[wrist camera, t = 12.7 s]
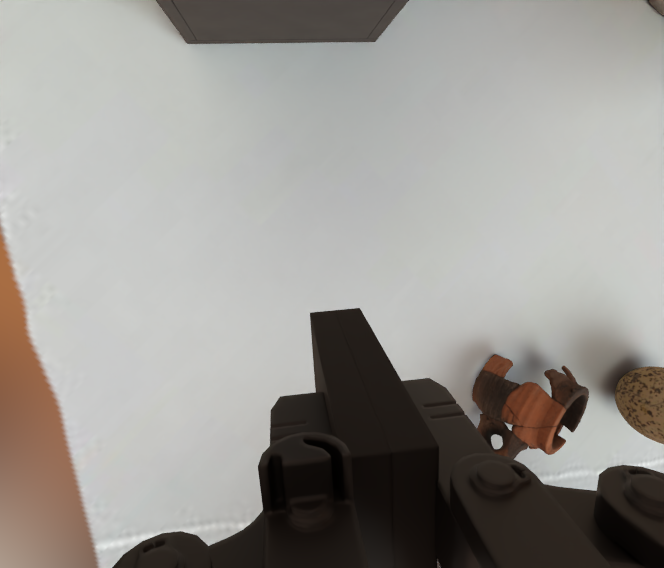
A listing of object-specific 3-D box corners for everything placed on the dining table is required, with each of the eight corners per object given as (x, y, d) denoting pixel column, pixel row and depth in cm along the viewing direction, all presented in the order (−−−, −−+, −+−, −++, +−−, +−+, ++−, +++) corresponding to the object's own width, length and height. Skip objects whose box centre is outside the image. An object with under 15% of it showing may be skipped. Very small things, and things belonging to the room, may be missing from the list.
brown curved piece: (506, 326, 44) (590, 365, 38) (525, 363, 50) (599, 401, 44) (437, 422, 42) (513, 479, 36) (466, 447, 48) (534, 500, 42)
